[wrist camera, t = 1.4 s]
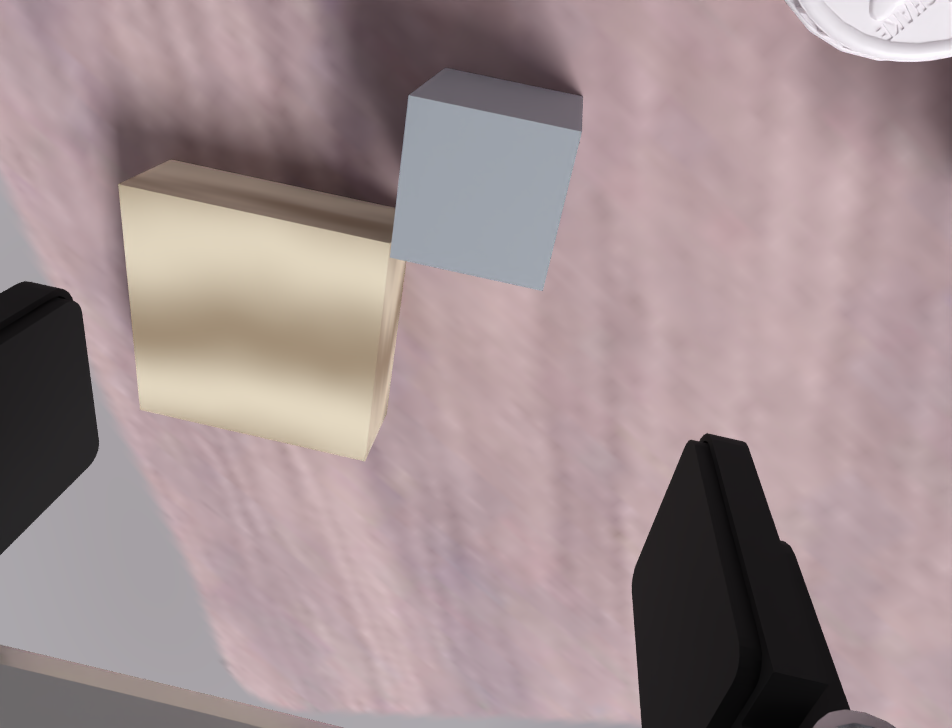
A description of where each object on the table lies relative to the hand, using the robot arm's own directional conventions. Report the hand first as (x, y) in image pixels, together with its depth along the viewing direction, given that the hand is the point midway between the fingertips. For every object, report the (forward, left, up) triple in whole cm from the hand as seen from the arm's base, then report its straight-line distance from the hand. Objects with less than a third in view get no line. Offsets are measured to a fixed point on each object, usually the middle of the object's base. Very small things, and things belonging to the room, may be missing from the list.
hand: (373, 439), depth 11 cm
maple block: (+8, -8, -18) cm, 21 cm away
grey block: (0, 0, -18) cm, 18 cm away
